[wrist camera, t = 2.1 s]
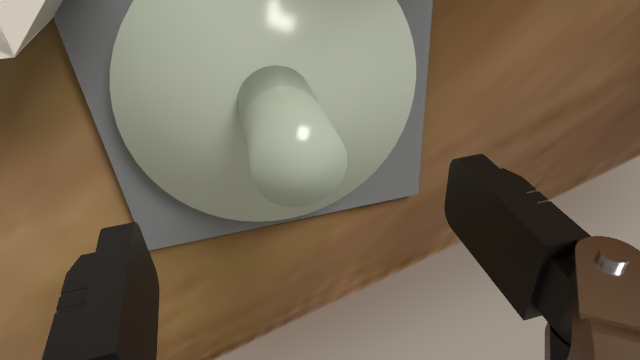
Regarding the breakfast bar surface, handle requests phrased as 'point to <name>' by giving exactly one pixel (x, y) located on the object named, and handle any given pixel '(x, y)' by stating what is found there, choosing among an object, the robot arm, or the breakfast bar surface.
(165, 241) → the mat
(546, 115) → the breakfast bar surface
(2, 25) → the bowl
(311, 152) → the lid
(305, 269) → the breakfast bar surface
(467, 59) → the breakfast bar surface
